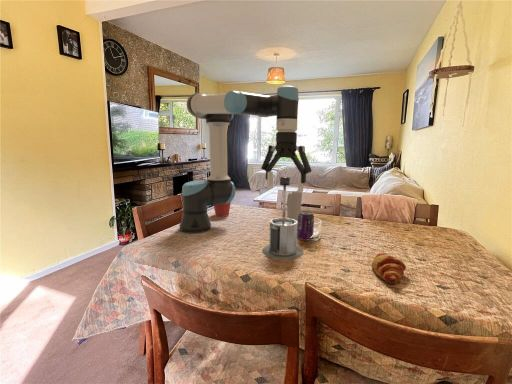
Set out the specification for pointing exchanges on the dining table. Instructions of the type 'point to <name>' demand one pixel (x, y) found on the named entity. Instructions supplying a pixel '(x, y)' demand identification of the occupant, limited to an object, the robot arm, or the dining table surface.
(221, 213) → the flower pot
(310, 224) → the beverage can
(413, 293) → the dining table surface
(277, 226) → the faceted metal cup
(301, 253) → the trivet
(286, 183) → the plunger
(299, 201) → the white tall block
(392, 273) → the croissant
